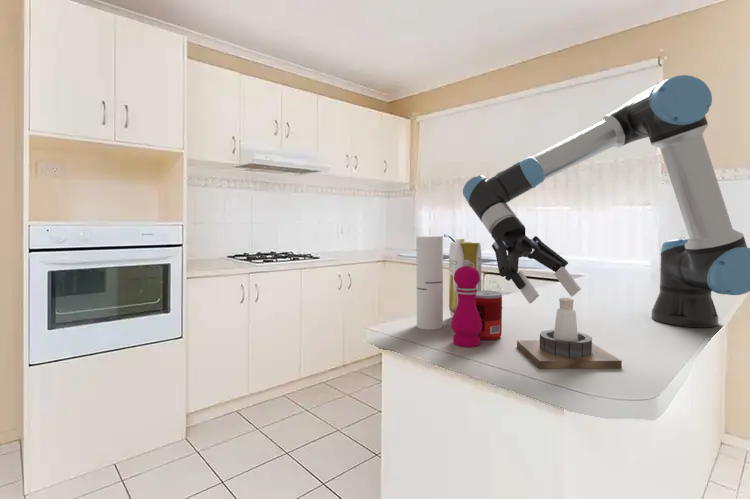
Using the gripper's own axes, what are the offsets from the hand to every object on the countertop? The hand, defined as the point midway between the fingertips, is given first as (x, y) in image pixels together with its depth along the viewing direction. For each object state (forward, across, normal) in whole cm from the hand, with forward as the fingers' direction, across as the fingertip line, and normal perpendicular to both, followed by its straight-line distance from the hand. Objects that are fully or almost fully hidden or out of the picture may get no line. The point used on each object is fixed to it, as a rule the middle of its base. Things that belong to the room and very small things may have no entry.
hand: (556, 296), depth 90 cm
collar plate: (+11, 0, -7) cm, 13 cm away
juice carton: (-15, -4, -33) cm, 36 cm away
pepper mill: (-2, +11, -20) cm, 23 cm away
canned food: (-4, +3, -22) cm, 22 cm away
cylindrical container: (-14, +9, -32) cm, 37 cm away
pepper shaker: (+10, 0, -6) cm, 12 cm away
